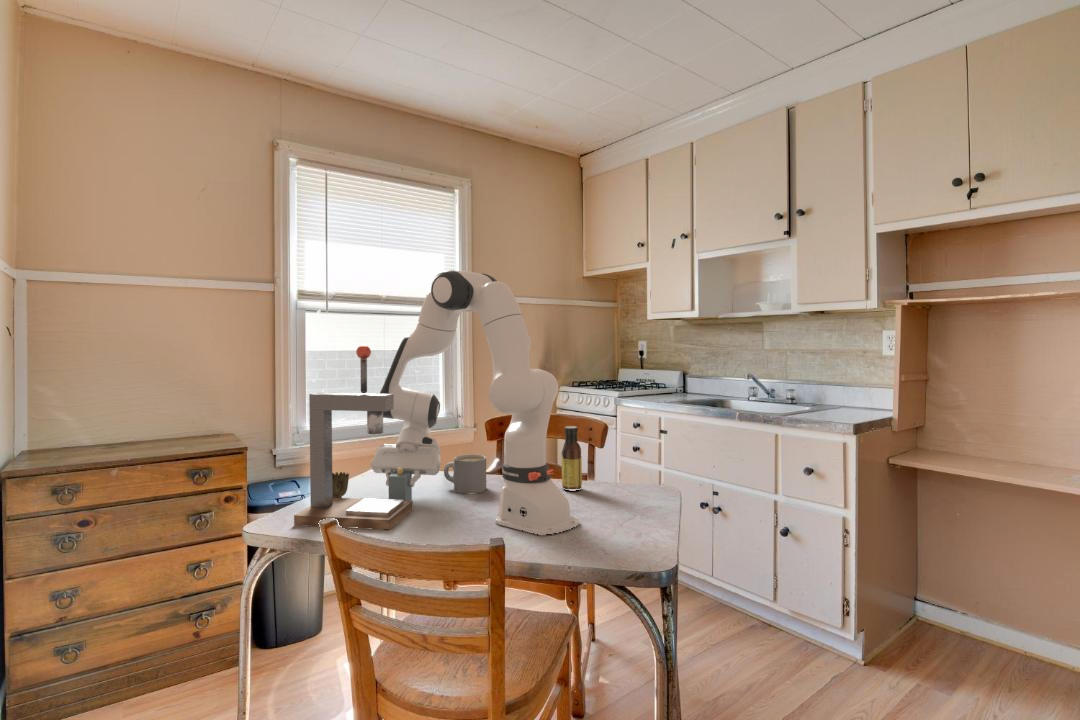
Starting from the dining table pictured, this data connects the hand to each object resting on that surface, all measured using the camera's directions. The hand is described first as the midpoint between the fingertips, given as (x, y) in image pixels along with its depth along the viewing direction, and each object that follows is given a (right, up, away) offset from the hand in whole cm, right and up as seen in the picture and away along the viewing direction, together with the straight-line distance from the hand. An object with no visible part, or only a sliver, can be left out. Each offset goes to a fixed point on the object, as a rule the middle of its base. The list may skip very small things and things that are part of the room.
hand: (399, 485), depth 160 cm
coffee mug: (+17, -5, +15) cm, 23 cm away
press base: (-8, -5, -13) cm, 16 cm away
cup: (-18, -5, 0) cm, 19 cm away
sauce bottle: (+50, -5, +14) cm, 52 cm away
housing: (0, -5, +1) cm, 5 cm away
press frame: (-8, -3, -13) cm, 16 cm away
